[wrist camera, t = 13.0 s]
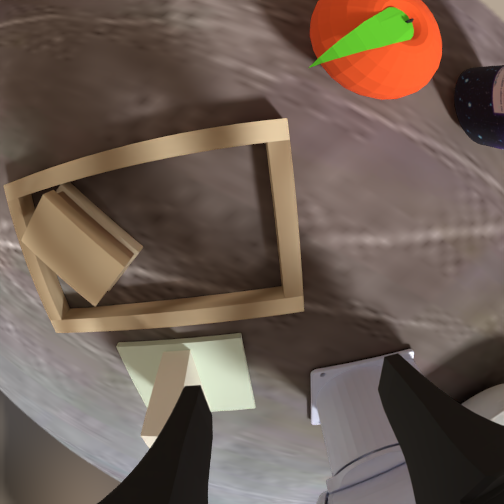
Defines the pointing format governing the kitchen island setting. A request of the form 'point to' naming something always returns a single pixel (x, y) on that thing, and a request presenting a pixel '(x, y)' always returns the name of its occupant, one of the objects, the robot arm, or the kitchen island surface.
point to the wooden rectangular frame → (183, 309)
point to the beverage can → (482, 104)
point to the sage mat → (207, 363)
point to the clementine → (376, 45)
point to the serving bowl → (488, 404)
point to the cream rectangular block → (168, 390)
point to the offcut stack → (79, 242)
